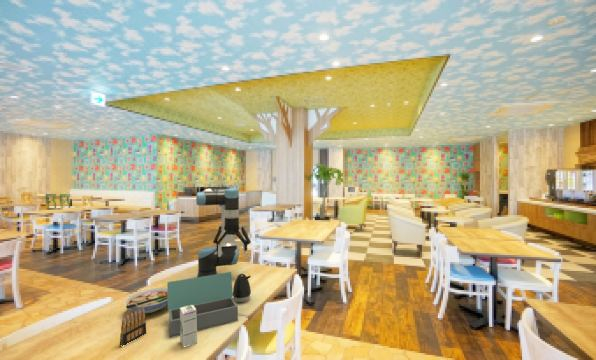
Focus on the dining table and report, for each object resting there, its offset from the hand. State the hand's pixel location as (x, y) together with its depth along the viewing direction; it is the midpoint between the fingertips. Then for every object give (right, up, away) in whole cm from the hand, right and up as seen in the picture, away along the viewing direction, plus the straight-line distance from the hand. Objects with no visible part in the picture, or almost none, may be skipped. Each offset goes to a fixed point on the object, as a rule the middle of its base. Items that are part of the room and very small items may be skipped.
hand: (231, 256), depth 144 cm
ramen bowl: (-43, -28, -2) cm, 51 cm away
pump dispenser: (+4, -28, +8) cm, 29 cm away
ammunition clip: (-35, -28, -29) cm, 54 cm away
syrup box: (-11, -28, -31) cm, 43 cm away
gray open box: (-10, -28, -16) cm, 33 cm away
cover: (-13, -15, -9) cm, 22 cm away
